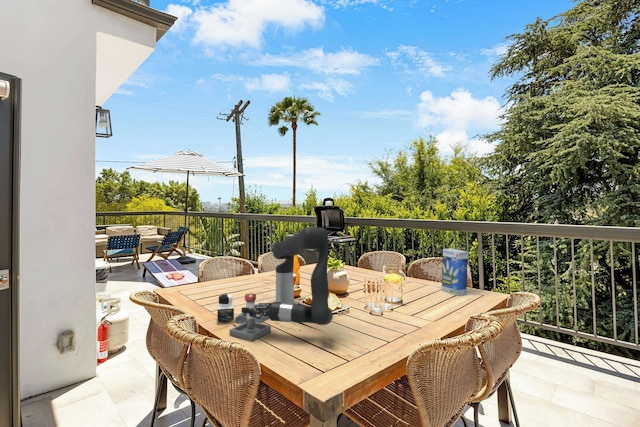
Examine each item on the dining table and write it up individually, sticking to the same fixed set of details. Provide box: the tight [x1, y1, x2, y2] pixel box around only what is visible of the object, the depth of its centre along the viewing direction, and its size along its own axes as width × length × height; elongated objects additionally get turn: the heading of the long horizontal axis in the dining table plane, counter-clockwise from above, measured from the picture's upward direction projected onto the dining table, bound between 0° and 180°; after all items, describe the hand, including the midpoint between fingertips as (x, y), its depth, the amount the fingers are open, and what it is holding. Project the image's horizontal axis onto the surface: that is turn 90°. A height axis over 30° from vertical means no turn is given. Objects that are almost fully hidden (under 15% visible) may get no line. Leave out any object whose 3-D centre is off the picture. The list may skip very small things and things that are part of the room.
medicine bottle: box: [216, 293, 235, 325], centre depth 159 cm, size 7×7×12 cm
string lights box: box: [441, 247, 469, 297], centre depth 209 cm, size 13×8×26 cm, turn 25°
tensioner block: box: [234, 313, 270, 325], centre depth 161 cm, size 13×10×5 cm
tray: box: [229, 322, 272, 343], centre depth 145 cm, size 12×12×2 cm
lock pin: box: [244, 292, 257, 330], centre depth 145 cm, size 5×5×14 cm
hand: (244, 308), depth 145 cm, fingers closed on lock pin, 3 cm apart
